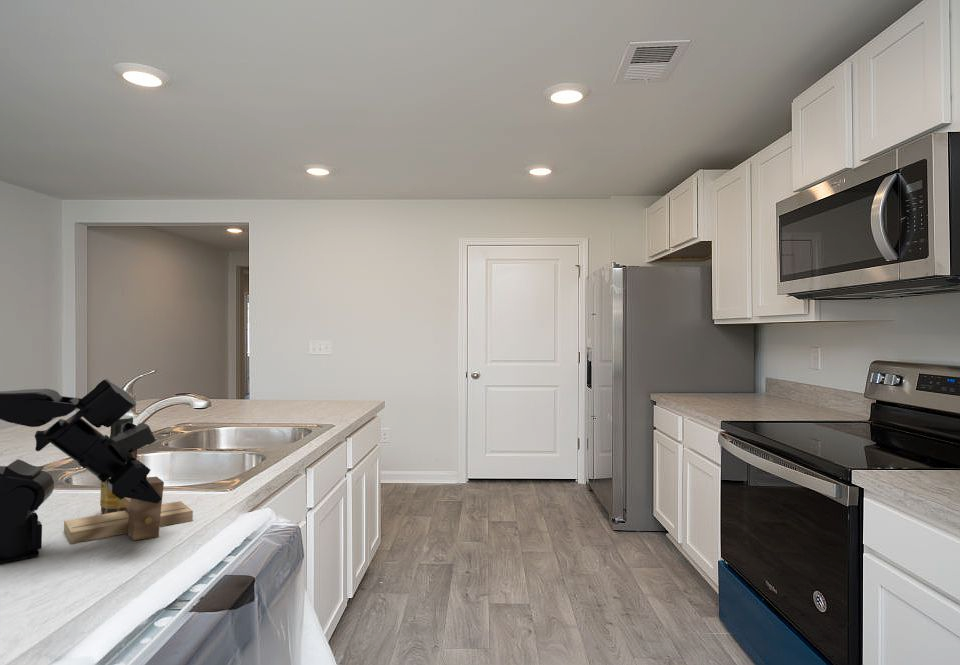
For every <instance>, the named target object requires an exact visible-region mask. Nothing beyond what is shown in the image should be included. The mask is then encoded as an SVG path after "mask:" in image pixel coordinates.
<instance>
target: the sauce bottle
mask: <svg viewBox="0 0 960 665" xmlns="http://www.w3.org/2000/svg"><path fill="white" fill-rule="evenodd" d="M127 422H131V423H133V424H134V417H133V415H128V414H127V415H126V414H125V415H124V416H122V417H121V418H120V419H119V420H118V421H116V422H115V423H114V424H113V425H111V426H110V435H109V437H110V438H111V439H112V438H113V437H115V436H117V435H118V434H119V433H121V425H123V424H125V423H127ZM130 454H132V455H133V456H132V457H134V458H135V459H136V460H138V458H137V457H138V450H136V451H134V452H131V453H130ZM108 479H109V478H108ZM108 479H107V480H108ZM107 480H106V481H107ZM106 481H105V482H102V481H101V480H100V497H99V500H100V502H99V503H100V504H99V505H100V511H101V514H107V513H113V512H119V511H125V510H127V509H126V508H125V507H124V501H125V498H123V499H119V498H118V497H116V496H115V495H114V494H112V493H111V492H110V491H109V490H108V484H107V483H106Z"/></svg>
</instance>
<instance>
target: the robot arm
mask: <svg viewBox="0 0 960 665" xmlns="http://www.w3.org/2000/svg"><path fill="white" fill-rule="evenodd" d="M136 406H137V402H136V401H135V399H134V398H133V397H132V396H131V394H129V393H128V392H127V391H126V390H125V389H121V388H120V387H119V386H118V385H117V384H115V383H113V382H111V381H110V380H109V379H108V378H105V379H103V380H101V381H100V382H99V383H98V384H97V385H96V386H95V387H94V388H93V389H92V390H90V391H89V392H88V393H87V394H86V395H85V396H83V397H82V398H80V397H79V398H78V397H73V396H65V395H64V396H63V395H61V394H60V393H59V392H58V391H57V390H54V389H51V388H32V389H19V390H17V389H16V390H4V391H0V420H1V421H4V422H7V423H11V424H14V425H15V424H16V425H20V426H24V427H29V428H39V427H42V426H44V425H46V424H49V423H50V422H52V421H54V420H56V419H57V418H60V419H58V420H57V421H56V422H54V423H53V424H52V425H51V426H49V427H48V428H47V429H45V430H36V431H35V433H34V439H35V449H34V450H35V451H36V452H40V451H42V450H43V449H44V448H45V447H46V446H48V445H49V444H51V445H53V446H54V447H55V448H56V449H58V450H59V451H61V452H62V453H64V454H65V455H66V456H68V457H69V458H70V459H72V460H73V461H74V462H76V463H77V464H78V465H79V466H80V467H82V468H83V469H85V470H87V471H88V472H90V473H91V474H93V475H94V476H95V477H96V478H97V479H98V480H100V482H101V481H102V482H105V481H106V480H107V479H108V478H109V479H108V480H107V481H106V483H107V484H108V490H109V491H110V492H111V493H112V494H114V495H115V496H116V497H118V498H119V499H123V498H125V497H126V498H132V499H137V500H142V501H147V502H152V503H159V502H160V501H161V499H162V500H163V497H162V498H161V497H160V496H159V494H158V493H157V492H156V491H155V489H154V488H153V487H152V486H151V484H150V483H149V482H148V481H147V477H148V475H149V474H150V472H151V469H150V467H148V466H147V465H145V464H144V463H142V461H140V460H139V459H137V460H136V459H135V458H134V457H132V456H133V455H132V454H130V453H131V452H134V451H136V450H137V451H138V450H139V449H142V448H144V447H145V446H147V445H149V446H150V445H152V444H153V443H155V442H157V438H156V437H155V435H154V434H153V431H152V430H151V427H150V425H149V424H147V423H144V422H143V423H140V422H139V423H138V424H137V425H136V424H134V422H133V423H131V422H127V423H125V424H123V425H121V433H119V434H118V435H117V436H115V437H113V438H112V439H111V438H110V436H108V435H107V434H105V435H104V434H103V433H101V432H100V431H99V430H97V429H100V428H102V426H103V427H104V428H111V425H113V424H114V423H115V422H116V421H118V420H119V419H120V418H121V417H122V416H124V415H126V414H127V413H129V412H130V411H131V410H132V409H133V408H135V407H136ZM75 411H77V412H75ZM73 412H75V413H74V414H73V415H71V416H70V417H68V418H67V419H66V420H65V419H63V418H61V417H66V416H68V415H70V414H72V413H73ZM96 428H97V429H96ZM44 468H45V467H44V466H43V465H42V466H40V465H39V466H36V465H32V464H29V463H28V462H26V461H24V460H21V459H19V458H18V459H16V460H14V461H13V462H11V463H10V464H8V465H0V564H4V563H11V562H16V561H20V560H24V559H30V558H35V557H36V558H37V557H39V556H40V552H39V550H41V549H42V546H43V545H42V543H43V539H42V538H43V537H42V536H43V524H42V522H41V521H40V520H39V515H38V514H37V512H36V511H37V510H38V509H39V507H41V505H42V504H44V503H45V501H47V499H49V498H50V496H51V495H52V493H53V492H54V489H55V481H54V479H53V477H52V475H51V474H50V473H49V472H47V471H45V470H43V469H44Z"/></svg>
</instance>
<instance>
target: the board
mask: <svg viewBox="0 0 960 665" xmlns="http://www.w3.org/2000/svg"><path fill="white" fill-rule="evenodd" d="M193 511H194V510H192V509H191V508H190V507H189V506H188V505H187V504H185V503H184V502H182V500H181V501H180V500H179V501H173V502H169V503H162V506H161V515H160V525H159V528H160V527H161V528H163V527H165V526H167V527H168V526H171V525H176V524H181V523H182V524H183V523H187V522H193V517H194V512H193ZM128 520H129V511H128V510H125V511H119V512H113V513H107V514H102V513H101V514H96V515H89V516H85V517H79V518H72V519H65V520H64V521H63V533H64V534H65V535H66V536H65V537H66V538H67V540H68V542H69V543H70V545H72V544H76V543H82V542H87V541H93V540H97V539H103V538H108V537H109V538H110V537H113V536H119V535H124V534H128V533H127V529H128Z"/></svg>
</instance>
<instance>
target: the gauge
mask: <svg viewBox="0 0 960 665" xmlns="http://www.w3.org/2000/svg"><path fill="white" fill-rule="evenodd" d="M147 481H148V482H149V483H150V484H151V486H152V487H153V488H154V489H155V491H156V492H157V493H158V494H159V496H160V497H161V498H162V499H161V501H160V502H159V503H152V502H147V501H142V500H137V499H132V498H126V497H125V501H124V507H125V508H126V509H127V510H128V511H129V520H128V529H127V533H126V534H128V535H129V536H130V538H131V539H132V540H133V541H137V540H145V539H152V538H159V533H160V532H159V531H160V527H159V525H160V515H161V506H162V504H163V497H164V496H163V494H164V493H163V492H164V487H165V482H164V481H163V480H162V479H160V478H159V477H158V476H147Z"/></svg>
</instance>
